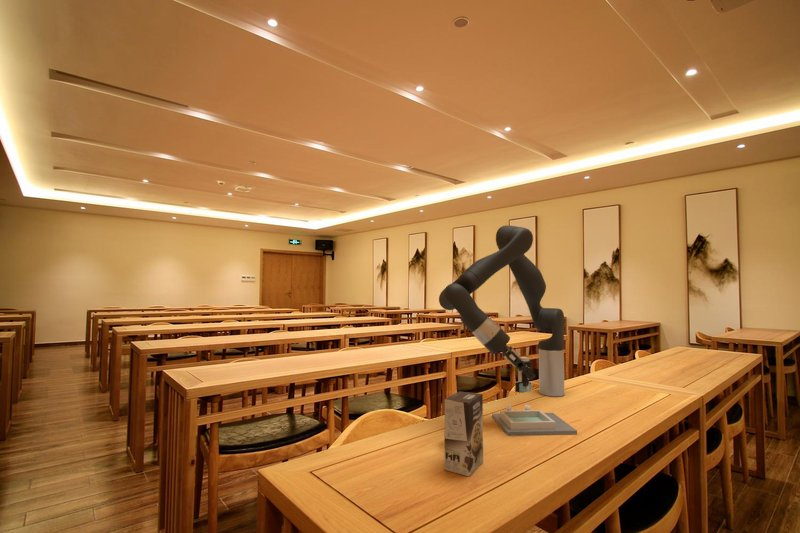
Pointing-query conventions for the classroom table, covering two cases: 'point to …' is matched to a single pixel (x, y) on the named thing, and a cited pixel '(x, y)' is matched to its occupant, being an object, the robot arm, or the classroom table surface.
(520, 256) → the robot arm
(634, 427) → the classroom table surface
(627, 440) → the classroom table surface
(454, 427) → the coffee box
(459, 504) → the classroom table surface
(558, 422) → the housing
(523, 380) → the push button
